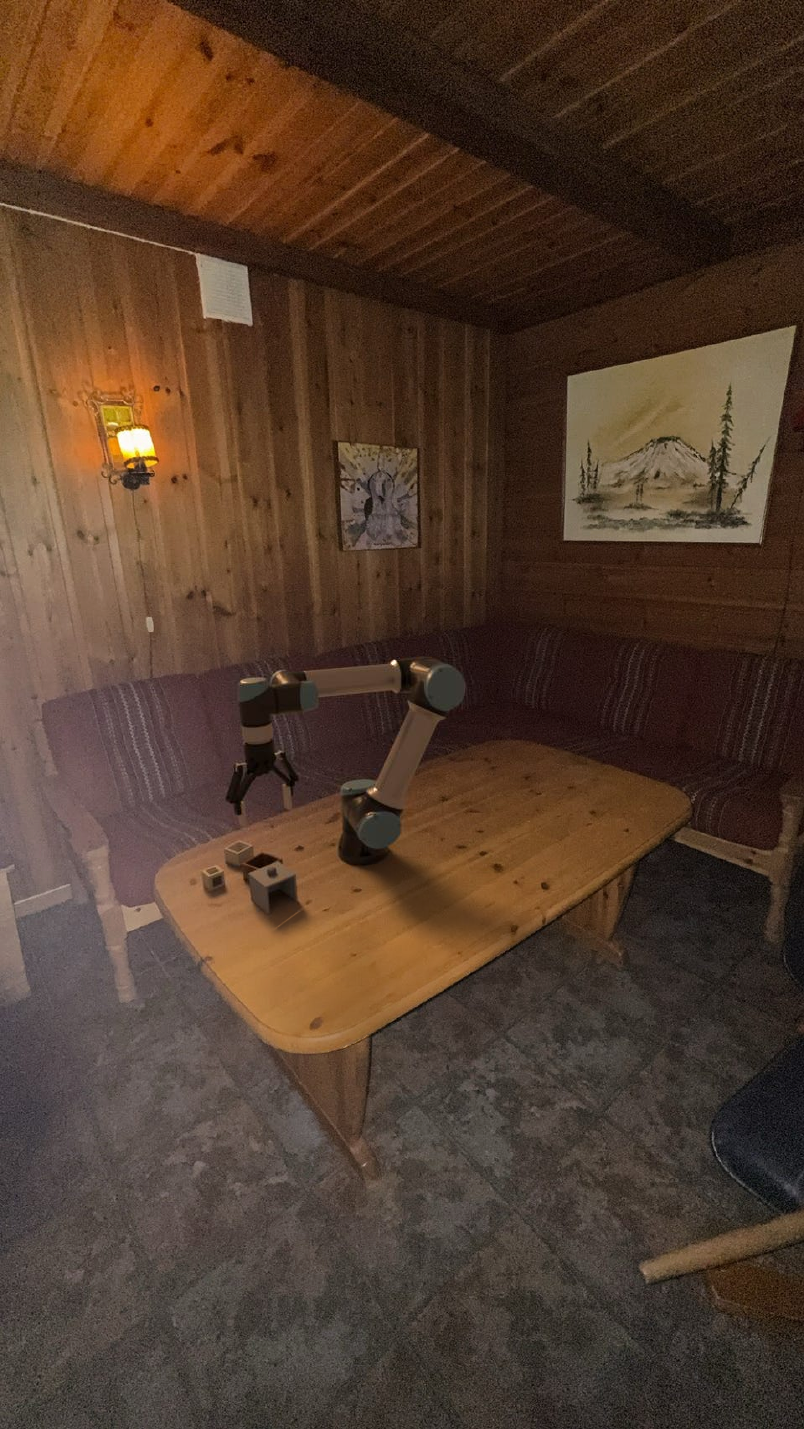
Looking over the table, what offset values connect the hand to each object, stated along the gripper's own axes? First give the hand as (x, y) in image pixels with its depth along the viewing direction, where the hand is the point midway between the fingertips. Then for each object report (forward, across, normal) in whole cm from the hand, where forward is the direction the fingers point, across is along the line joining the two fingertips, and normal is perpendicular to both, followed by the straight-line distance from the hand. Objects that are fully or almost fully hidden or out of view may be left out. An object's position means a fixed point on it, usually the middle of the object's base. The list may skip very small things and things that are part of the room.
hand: (266, 816), depth 163 cm
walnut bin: (+23, -3, -10) cm, 26 cm away
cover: (+23, +1, +2) cm, 24 cm away
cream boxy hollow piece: (+23, +9, -17) cm, 30 cm away
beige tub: (+23, -3, -24) cm, 33 cm away
